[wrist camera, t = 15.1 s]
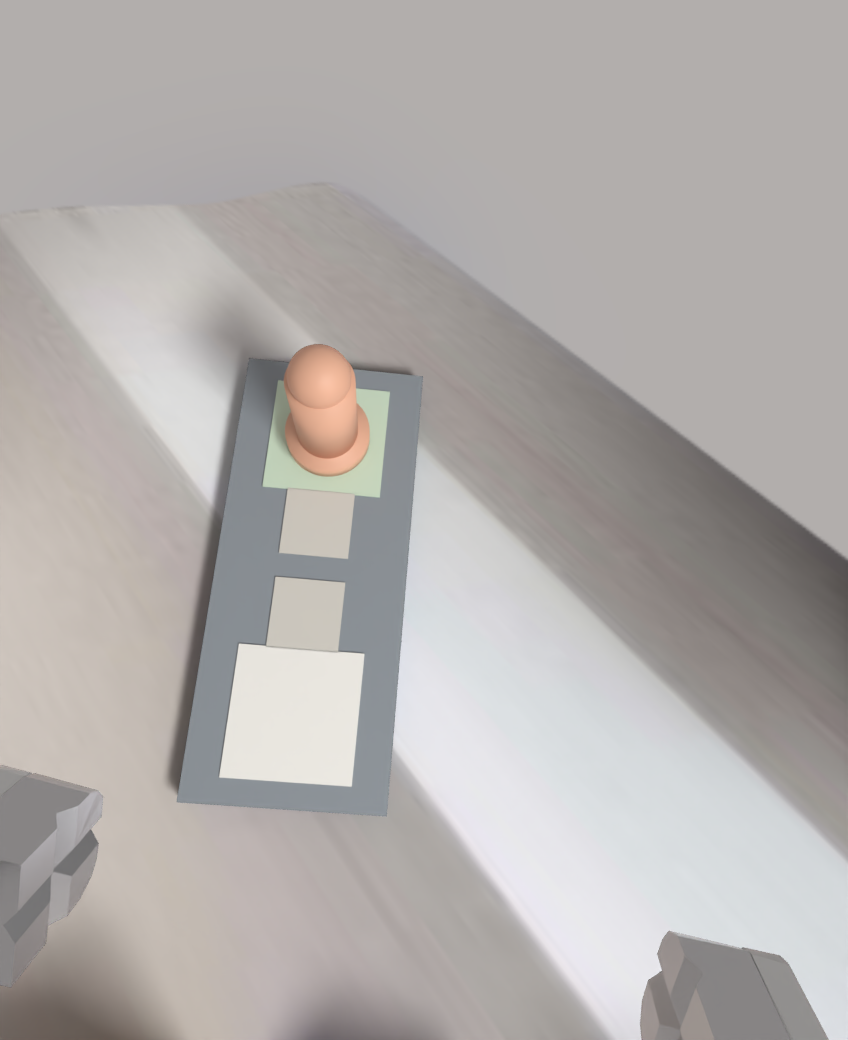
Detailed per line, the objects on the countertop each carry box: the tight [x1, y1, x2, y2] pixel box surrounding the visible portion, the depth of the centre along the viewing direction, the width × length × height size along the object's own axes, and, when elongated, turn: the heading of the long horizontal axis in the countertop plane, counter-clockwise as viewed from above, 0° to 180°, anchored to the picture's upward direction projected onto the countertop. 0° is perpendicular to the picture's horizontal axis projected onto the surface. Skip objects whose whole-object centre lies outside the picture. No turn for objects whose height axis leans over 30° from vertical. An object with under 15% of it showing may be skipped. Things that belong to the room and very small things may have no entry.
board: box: [177, 358, 423, 816], centre depth 39 cm, size 11×26×1 cm, turn 176°
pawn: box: [284, 344, 370, 477], centre depth 36 cm, size 5×5×9 cm
